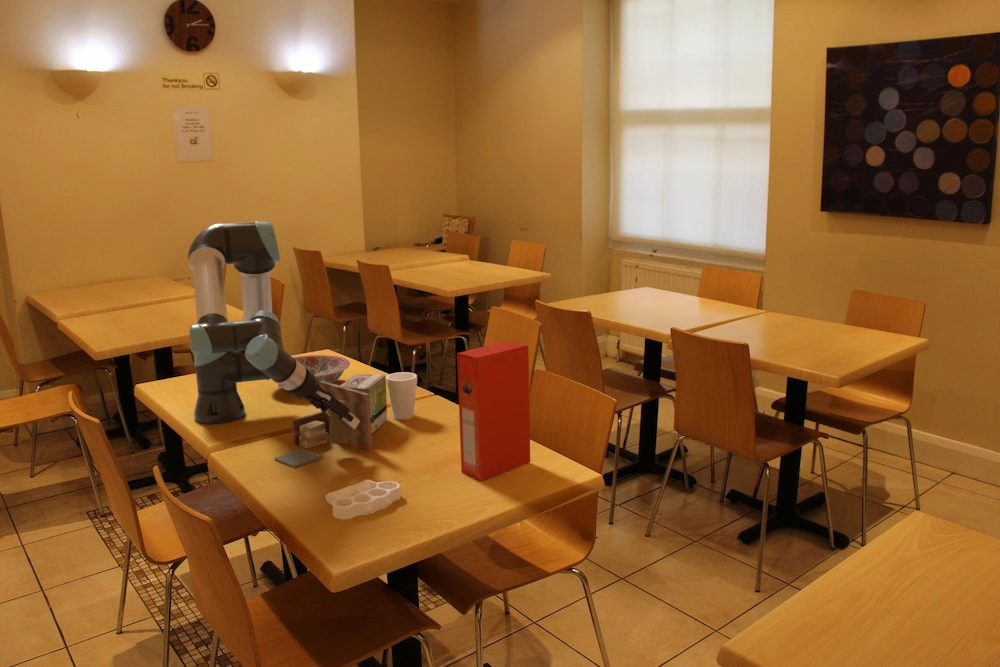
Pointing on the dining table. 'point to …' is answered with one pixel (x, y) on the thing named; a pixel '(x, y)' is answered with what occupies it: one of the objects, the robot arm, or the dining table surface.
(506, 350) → the file binder
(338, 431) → the olive brown peg
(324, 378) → the ceramic bowl
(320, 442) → the offcut lower
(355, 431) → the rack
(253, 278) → the robot arm
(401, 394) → the foam cup
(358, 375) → the tea box
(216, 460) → the dining table surface
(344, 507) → the white flat holed block
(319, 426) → the offcut upper
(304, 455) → the coaster
